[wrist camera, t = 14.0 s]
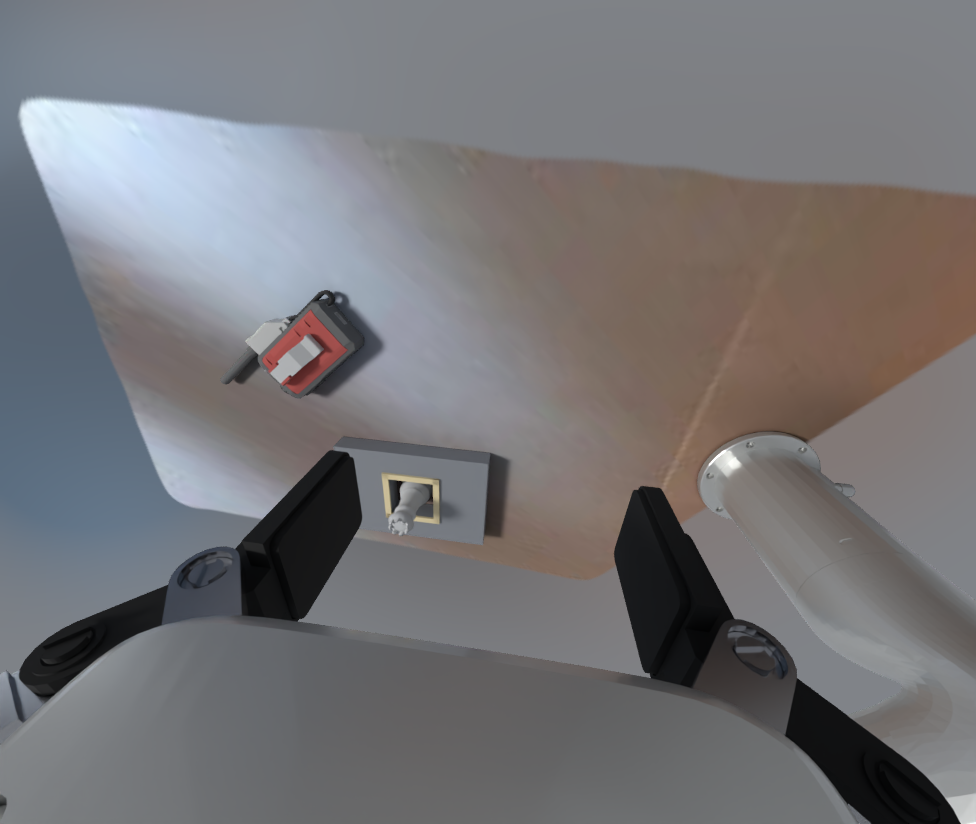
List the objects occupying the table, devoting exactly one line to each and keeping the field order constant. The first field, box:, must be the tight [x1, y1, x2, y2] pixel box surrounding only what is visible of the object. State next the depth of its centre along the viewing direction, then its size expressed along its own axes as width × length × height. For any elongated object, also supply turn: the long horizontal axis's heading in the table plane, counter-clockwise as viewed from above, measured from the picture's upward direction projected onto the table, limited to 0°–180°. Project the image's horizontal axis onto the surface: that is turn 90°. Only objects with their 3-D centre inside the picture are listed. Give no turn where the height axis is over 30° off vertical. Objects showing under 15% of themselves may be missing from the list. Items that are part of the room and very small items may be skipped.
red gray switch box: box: [221, 290, 364, 398], centre depth 40 cm, size 9×4×20 cm
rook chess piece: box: [388, 481, 433, 536], centre depth 45 cm, size 4×4×8 cm
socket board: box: [333, 437, 491, 545], centre depth 47 cm, size 20×14×3 cm
